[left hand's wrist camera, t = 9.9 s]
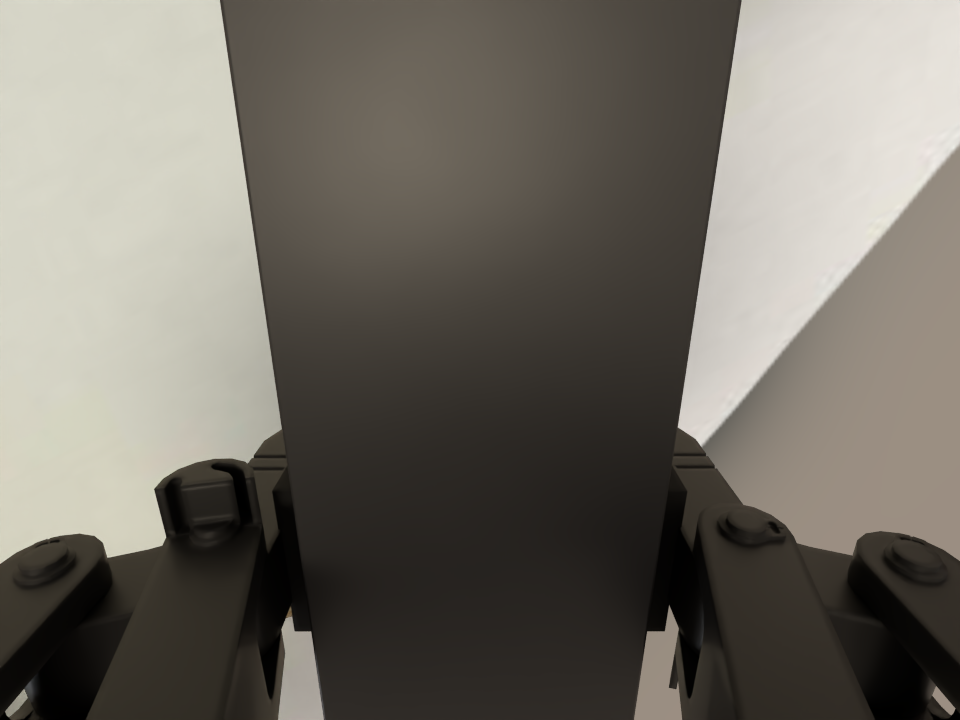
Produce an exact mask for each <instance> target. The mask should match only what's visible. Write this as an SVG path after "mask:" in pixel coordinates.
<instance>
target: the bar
mask: <svg viewBox="0 0 960 720" xmlns="http://www.w3.org/2000/svg"><path fill="white" fill-rule="evenodd" d="M220 3H221V10H222V17H223V24H224V31H225V38H226V45H227V52H228V59H229V66H230V72H231V79H232V86H233V93H234V100H235V107H236V114H237V121H238V128H239V135H240V142H241V148H242V155H243V162H244V169H245V176H246V183H247V190H248V197H249V204H250V211H251V218H252V224H253V231H254V238H255V245H256V252H257V259H258V266H259V273H260V280H261V287H262V294H263V301H264V307H265V314H266V321H267V328H268V335H269V342H270V349H271V356H272V363H273V370H274V377H275V383H276V390H277V397H278V404H279V411H280V418H281V425H282V432H283V439H284V446H285V453H286V459H287V466H288V473H289V480H290V487H291V494H292V501H293V508H294V515H295V522H296V529H297V535H298V542H299V549H300V556H301V563H302V570H303V577H304V584H305V591H306V598H307V605H308V611H309V618H310V625H311V632H312V639H313V646H314V653H315V660H316V667H317V674H318V681H319V688H320V694H321V701H322V708H323V715H324V720H634V715H635V708H636V701H637V695H638V688H639V681H640V675H641V668H642V661H643V655H644V648H645V641H646V635H647V628H648V621H649V615H650V608H651V601H652V595H653V588H654V581H655V575H656V568H657V561H658V555H659V548H660V541H661V535H662V528H663V521H664V515H665V508H666V501H667V495H668V488H669V481H670V474H671V468H672V461H673V454H674V448H675V441H676V434H677V428H678V421H679V414H680V408H681V401H682V394H683V388H684V381H685V374H686V368H687V361H688V354H689V348H690V341H691V334H692V328H693V321H694V314H695V308H696V301H697V294H698V288H699V281H700V274H701V268H702V261H703V254H704V247H705V241H706V234H707V227H708V221H709V214H710V207H711V201H712V194H713V187H714V181H715V174H716V167H717V161H718V154H719V147H720V141H721V134H722V127H723V121H724V114H725V107H726V101H727V94H728V87H729V81H730V74H731V67H732V61H733V54H734V47H735V41H736V34H737V27H738V20H739V14H740V7H741V0H220Z"/></svg>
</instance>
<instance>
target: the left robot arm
mask: <svg viewBox="0 0 960 720" xmlns="http://www.w3.org/2000/svg"><path fill="white" fill-rule="evenodd" d="M154 490H155V494H156V498H157V502H158V506H159V510H160V514H161V518H162V521H163V525H164V529H165V533H166V539H165V542H164V544H163V546H160V547H156V548H153V549H149V550H144V551H139V552H135V553H130V554H125V555H120V556H115V557H111V558H107V555H106V552H105V549H104V545H103V543H102V542H101V541H100V540H99V539H97V538H96V537H95V536H90V535H84V534H73V535H64V536H58V537H53V538H50V539H46V540H43V541H40V542H37V543H35V544H34V545H32V546H30V547H28V548H25V549H23V550H21V551H19V552H17V553H15V554H14V555H13V556H11V557H10V558H8V559H7V560H5V561H4V562H3V563H1V564H0V720H278V713H279V704H280V694H281V685H282V676H283V667H284V658H285V650H284V643H283V637H282V631H281V629H282V626H283V624H284V621H285V619H286V616H287V614H288V611H289V609H290V607H291V611H292V618H293V624H294V630H295V631H311V625H310V618H309V611H308V605H307V598H306V591H305V584H304V577H303V570H302V563H301V556H300V549H299V542H298V535H297V529H296V522H295V515H294V508H293V501H292V494H291V487H290V480H289V473H288V466H287V459H286V453H285V446H284V439H283V432H282V430H280V431H279V432H277V433H276V434H274V435H273V436H271V437H270V438H268V439H267V440H265V441H264V442H263V444H262V445H261V446H260V448H259V449H258V450H257V452H256V453H255V455H254V458H252V459H251V460H250V462H249V463H248V464H247V463H246V462H244V461H240V460H235V459H212V460H207V461H202V462H197V463H194V464H191V465H189V466H186V467H184V468H181V469H178V470H177V471H175V472H173V473H172V474H170V475H169V476H167V477H165V478H164V479H163V480H162V481H161V482H160V483H159V484H158V485H157V487H156V488H155V489H154ZM669 605H670V608H671V610H672V612H673V615H674V617H675V620H676V622H677V625H678V627H679V631H678V637H677V643H676V649H675V654H674V660H673V666H672V671H671V678H670V684H669V688H673V689H676V688H677V683H678V684H679V693H680V702H681V711H682V720H960V561H959V560H957V559H956V558H954V557H953V556H951V555H950V554H949V553H947V552H946V551H944V550H942V549H940V548H938V547H936V546H934V545H932V544H930V543H927V542H926V541H924V540H922V539H919V538H916V537H910V536H909V535H905V534H900V533H891V532H882V531H879V532H873V533H866V534H865V535H863V536H862V537H861V538H860V539H858V540H857V543H856V546H855V550H854V553H853V556H851V555H847V554H842V553H837V552H832V551H827V550H822V549H817V548H813V547H808V546H805V545H801V544H797V543H796V541H795V538H794V536H793V535H792V534H791V532H790V531H789V530H788V528H787V527H786V526H785V525H784V524H783V523H782V522H780V521H779V520H778V519H776V518H775V517H773V516H772V515H770V514H768V513H766V512H763V511H761V510H759V509H757V508H754V507H750V506H745V505H743V504H742V502H741V501H740V500H739V498H738V497H737V496H736V494H735V493H734V491H733V490H732V489H731V487H730V486H729V485H728V483H727V482H726V480H725V479H724V478H723V476H722V475H721V474H720V472H719V471H718V469H715V466H714V464H713V463H712V461H711V460H710V458H709V457H708V456H706V453H705V452H704V450H703V449H702V447H701V446H700V445H699V443H698V442H697V441H696V439H694V438H693V437H691V436H690V435H688V434H687V433H685V432H684V431H682V430H681V429H679V428H677V434H676V441H675V448H674V454H673V461H672V468H671V474H670V481H669V488H668V495H667V501H666V508H665V515H664V521H663V528H662V535H661V541H660V548H659V555H658V561H657V568H656V575H655V581H654V588H653V595H652V601H651V608H650V615H649V621H648V628H647V631H665V626H666V620H667V614H668V608H669ZM936 686H937V687H938V688H939V689H940V691H941V692H942V693H943V694H944V695H945V697H946V698H947V699H948V700H949V701H950V702H951V704H952V705H953V706H954V707H955V708H956V709H955V711H954V713H953V714H952V715H949V714H948V713H947V712H946V711H945V710H944V709H943V708H942V707H941V706H940V705H939V703H938V702H937V701H936V700H935V699H934V697H933V696H932V694H933V692H934V689H935V687H936ZM23 689H25V691H26V694H27V696H28V699H27V700H26V701H25V702H24V704H23V705H22V706H21V707H20V708H19V709H18V710H17V711H16V712H15V713H14V714H13V715H12V716H10V717H8V716H7V715H6V713H5V711H6V709H7V708H8V707H9V706H10V705H11V703H12V702H13V701H14V700H15V699H16V698H17V696H18V695H19V694H20V693H21V692H22V690H23Z"/></svg>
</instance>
